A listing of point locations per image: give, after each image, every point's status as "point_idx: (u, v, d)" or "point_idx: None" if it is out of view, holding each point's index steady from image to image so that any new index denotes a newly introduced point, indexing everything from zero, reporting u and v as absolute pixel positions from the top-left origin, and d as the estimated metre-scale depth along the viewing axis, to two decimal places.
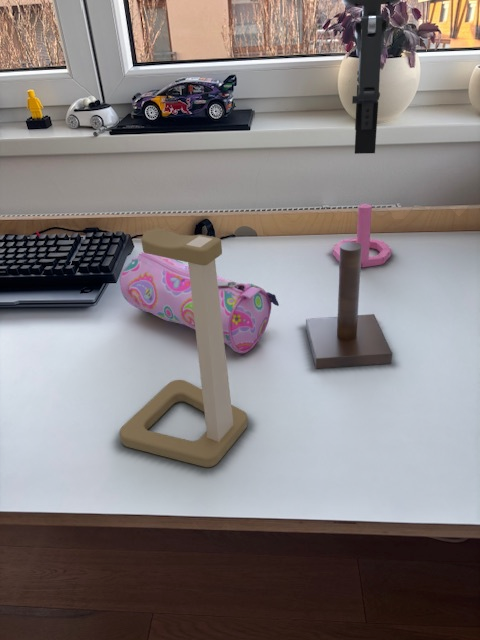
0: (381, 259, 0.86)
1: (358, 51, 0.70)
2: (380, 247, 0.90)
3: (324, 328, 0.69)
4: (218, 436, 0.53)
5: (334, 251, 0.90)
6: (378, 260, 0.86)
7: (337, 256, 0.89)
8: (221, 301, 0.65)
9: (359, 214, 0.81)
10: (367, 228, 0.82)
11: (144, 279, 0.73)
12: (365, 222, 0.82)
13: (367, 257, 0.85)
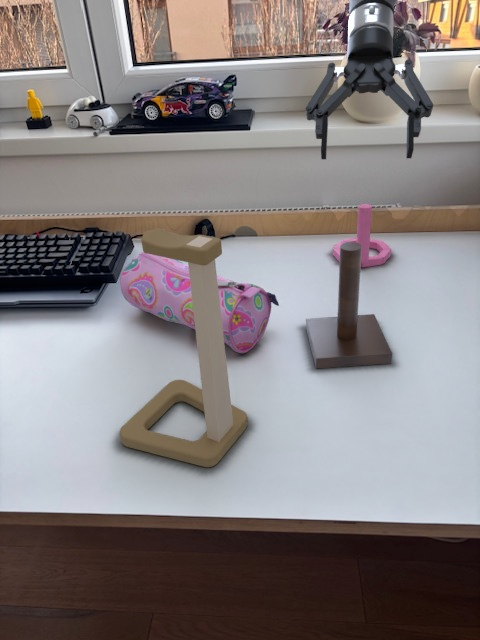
0: (381, 259, 0.86)
1: (393, 81, 0.88)
2: (380, 247, 0.90)
3: (324, 328, 0.69)
4: (218, 436, 0.53)
5: (334, 251, 0.90)
6: (378, 260, 0.86)
7: (337, 256, 0.89)
8: (221, 301, 0.65)
9: (359, 214, 0.81)
10: (367, 228, 0.82)
11: (144, 279, 0.73)
12: (365, 222, 0.82)
13: (367, 257, 0.85)
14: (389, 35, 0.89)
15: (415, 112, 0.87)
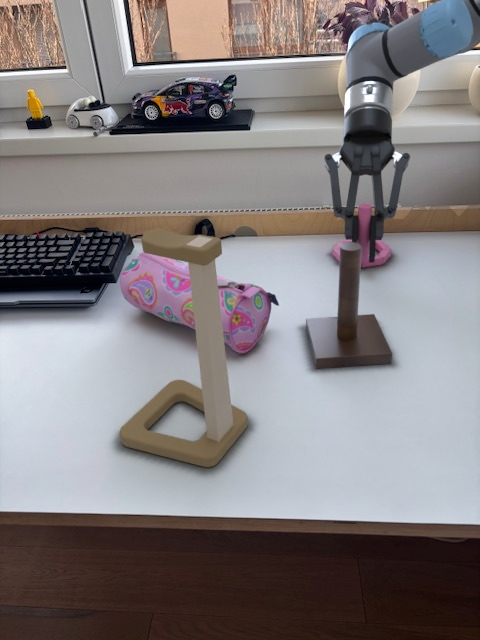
0: (381, 259, 0.86)
1: (379, 172, 0.83)
2: (380, 247, 0.90)
3: (324, 328, 0.69)
4: (218, 436, 0.53)
5: (334, 251, 0.90)
6: (378, 260, 0.86)
7: (337, 256, 0.89)
8: (221, 301, 0.65)
9: (359, 214, 0.81)
10: (367, 228, 0.82)
11: (144, 279, 0.73)
12: (365, 222, 0.82)
13: (367, 257, 0.85)
14: (388, 116, 0.84)
15: (376, 213, 0.82)
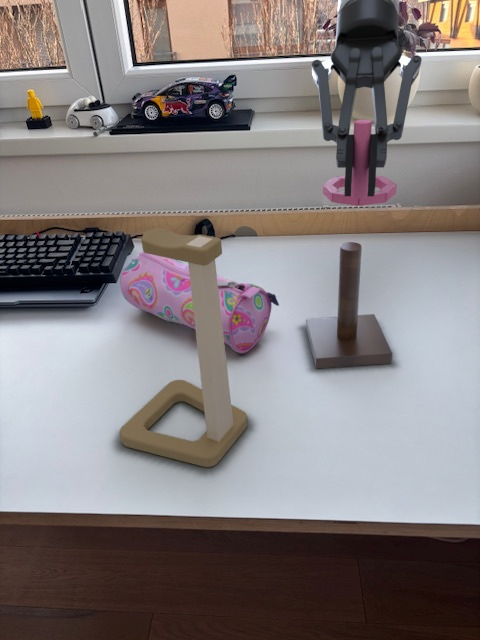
0: (384, 195, 0.67)
1: (382, 80, 0.64)
2: (383, 183, 0.71)
3: (324, 328, 0.69)
4: (218, 436, 0.53)
5: (324, 188, 0.71)
6: (380, 196, 0.67)
7: (327, 194, 0.70)
8: (221, 301, 0.65)
9: (355, 132, 0.63)
10: (365, 151, 0.64)
11: (144, 279, 0.73)
12: (363, 143, 0.63)
13: (365, 192, 0.66)
14: (393, 9, 0.65)
15: (377, 131, 0.63)
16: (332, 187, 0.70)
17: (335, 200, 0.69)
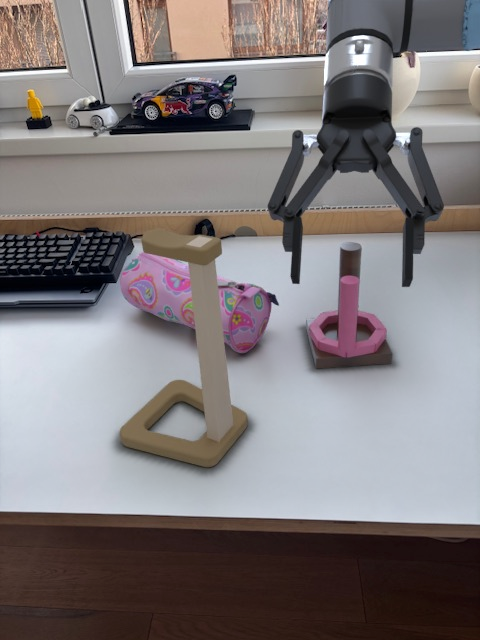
0: (373, 346, 0.63)
1: (389, 161, 0.57)
2: (372, 325, 0.67)
3: (324, 328, 0.69)
4: (218, 436, 0.53)
5: (310, 331, 0.67)
6: (368, 348, 0.63)
7: (313, 339, 0.66)
8: (221, 301, 0.65)
9: (341, 291, 0.59)
10: (353, 309, 0.60)
11: (144, 279, 0.73)
12: (350, 302, 0.59)
13: (353, 346, 0.62)
14: (386, 86, 0.58)
15: (415, 216, 0.55)
16: (318, 331, 0.66)
17: (321, 348, 0.65)
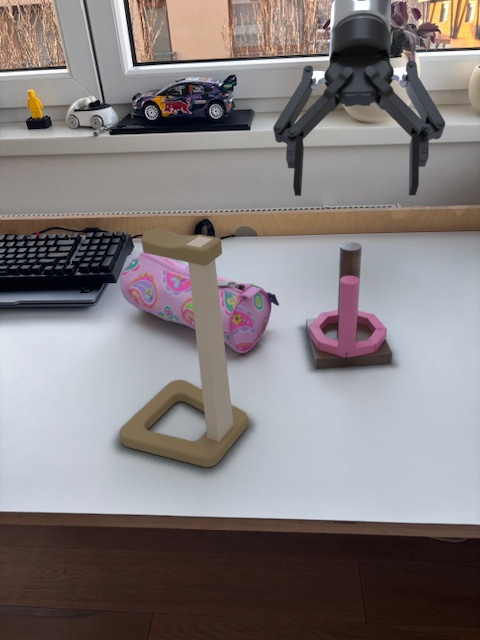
0: (373, 346, 0.63)
1: (391, 90, 0.65)
2: (372, 325, 0.67)
3: (324, 328, 0.69)
4: (218, 436, 0.53)
5: (310, 331, 0.67)
6: (368, 348, 0.63)
7: (313, 339, 0.66)
8: (221, 301, 0.65)
9: (341, 291, 0.59)
10: (353, 309, 0.60)
11: (144, 279, 0.73)
12: (350, 302, 0.59)
13: (353, 346, 0.62)
14: (385, 28, 0.66)
15: (421, 133, 0.64)
16: (318, 331, 0.66)
17: (321, 348, 0.65)
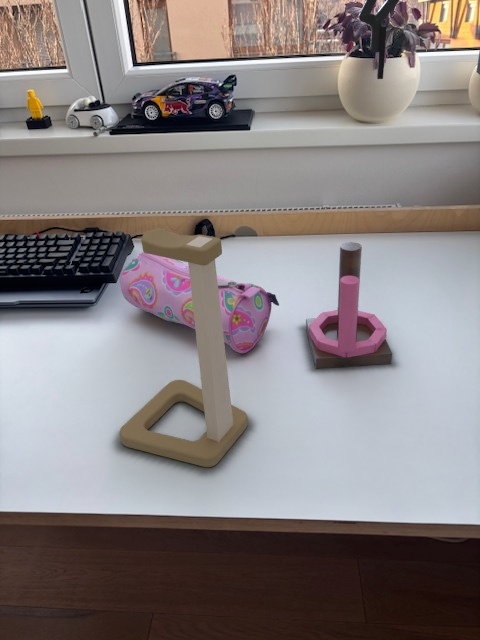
0: (373, 346, 0.63)
1: None
2: (372, 325, 0.67)
3: (324, 328, 0.69)
4: (218, 436, 0.53)
5: (310, 331, 0.67)
6: (368, 348, 0.63)
7: (313, 339, 0.66)
8: (221, 301, 0.65)
9: (341, 291, 0.59)
10: (353, 309, 0.60)
11: (144, 279, 0.73)
12: (350, 302, 0.59)
13: (353, 346, 0.62)
14: None
15: None
16: (318, 331, 0.66)
17: (321, 348, 0.65)
